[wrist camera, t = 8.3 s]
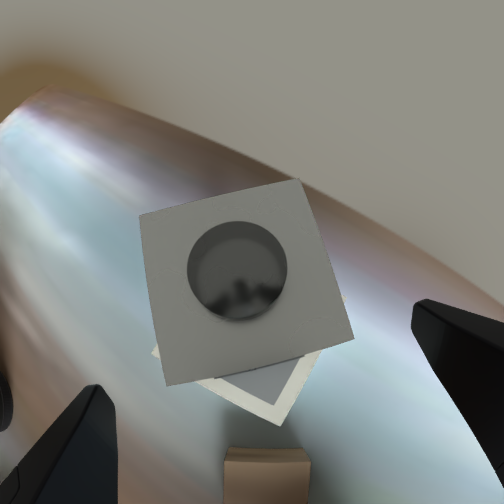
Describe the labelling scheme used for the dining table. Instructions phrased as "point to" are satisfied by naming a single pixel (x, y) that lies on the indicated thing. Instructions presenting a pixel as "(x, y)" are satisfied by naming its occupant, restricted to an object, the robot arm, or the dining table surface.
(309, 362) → the stand
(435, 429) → the dining table surface
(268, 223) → the housing
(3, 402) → the camera lens
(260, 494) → the walnut block
